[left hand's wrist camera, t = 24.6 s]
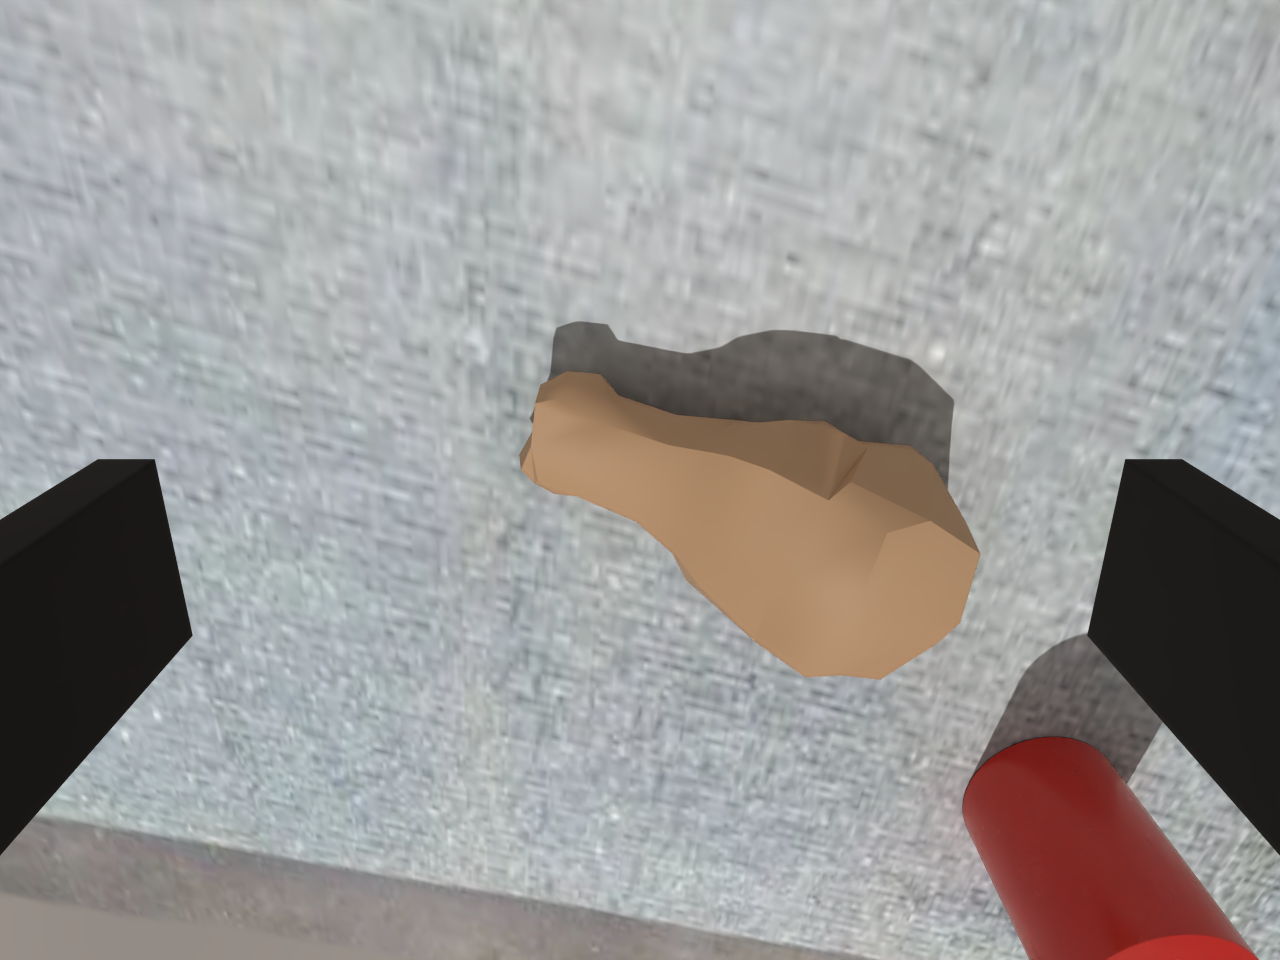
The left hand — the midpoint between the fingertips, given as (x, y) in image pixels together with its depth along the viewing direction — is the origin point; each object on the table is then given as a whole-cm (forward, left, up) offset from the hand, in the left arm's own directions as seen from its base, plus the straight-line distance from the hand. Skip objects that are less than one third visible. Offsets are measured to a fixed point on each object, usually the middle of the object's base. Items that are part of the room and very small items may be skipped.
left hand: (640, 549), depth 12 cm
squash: (+11, 0, -28) cm, 30 cm away
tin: (+35, +8, -28) cm, 46 cm away
